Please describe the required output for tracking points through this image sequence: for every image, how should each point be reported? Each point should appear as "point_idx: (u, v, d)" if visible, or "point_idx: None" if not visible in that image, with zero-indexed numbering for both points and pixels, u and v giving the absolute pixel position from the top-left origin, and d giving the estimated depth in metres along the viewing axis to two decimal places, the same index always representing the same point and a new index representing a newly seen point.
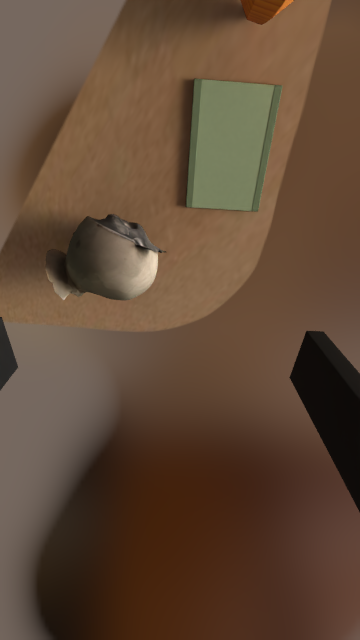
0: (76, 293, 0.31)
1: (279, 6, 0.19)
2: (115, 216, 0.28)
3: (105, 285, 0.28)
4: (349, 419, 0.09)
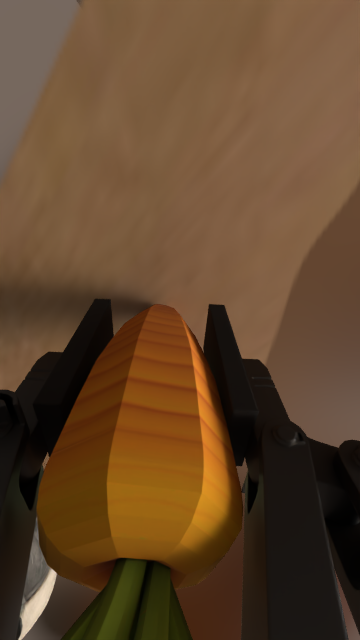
0: None
1: None
2: None
3: None
4: (216, 371, 0.10)
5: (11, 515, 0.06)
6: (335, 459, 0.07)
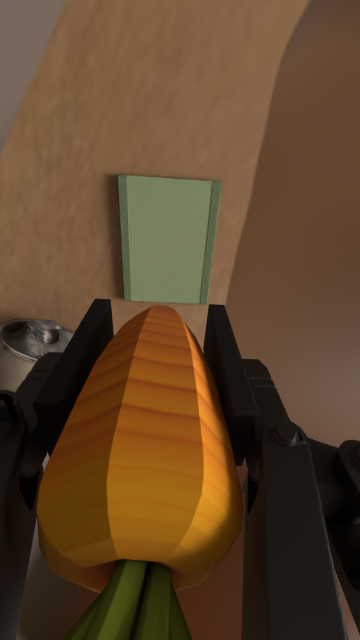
0: None
1: None
2: (31, 328, 0.24)
3: None
4: (216, 371, 0.10)
5: (11, 515, 0.06)
6: (335, 459, 0.07)
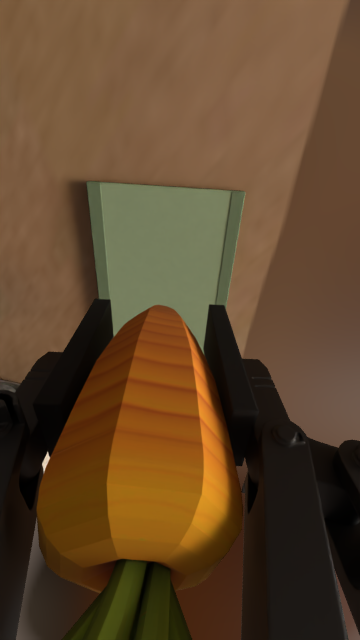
0: None
1: None
2: None
3: None
4: (216, 371, 0.10)
5: (11, 515, 0.06)
6: (335, 459, 0.07)
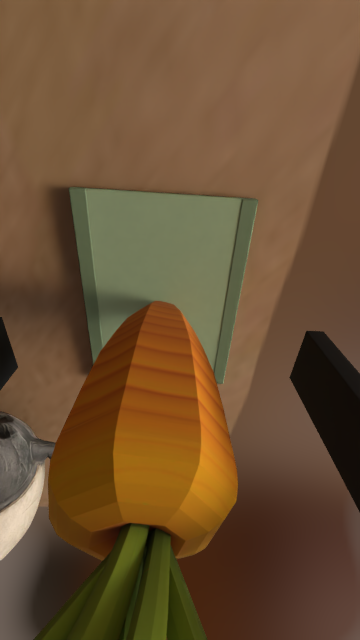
0: None
1: None
2: None
3: None
4: (349, 419, 0.09)
5: None
6: None
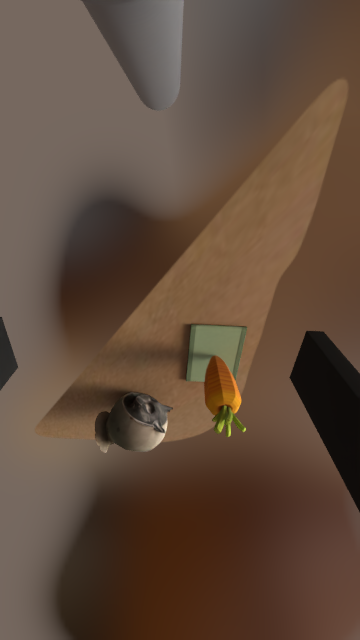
0: (113, 443, 0.47)
1: None
2: (140, 404, 0.44)
3: None
4: (349, 419, 0.09)
5: None
6: None
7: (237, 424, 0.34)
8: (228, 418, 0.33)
